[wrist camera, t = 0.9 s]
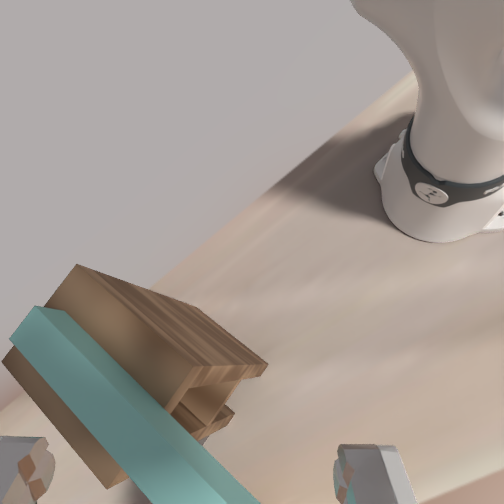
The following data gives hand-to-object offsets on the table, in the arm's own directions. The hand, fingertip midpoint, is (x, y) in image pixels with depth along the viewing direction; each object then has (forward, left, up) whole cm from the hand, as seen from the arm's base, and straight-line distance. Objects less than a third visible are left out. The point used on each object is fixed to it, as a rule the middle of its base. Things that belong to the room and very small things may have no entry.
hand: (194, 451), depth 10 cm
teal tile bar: (+7, -8, -14) cm, 18 cm away
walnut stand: (+7, -13, -40) cm, 43 cm away
